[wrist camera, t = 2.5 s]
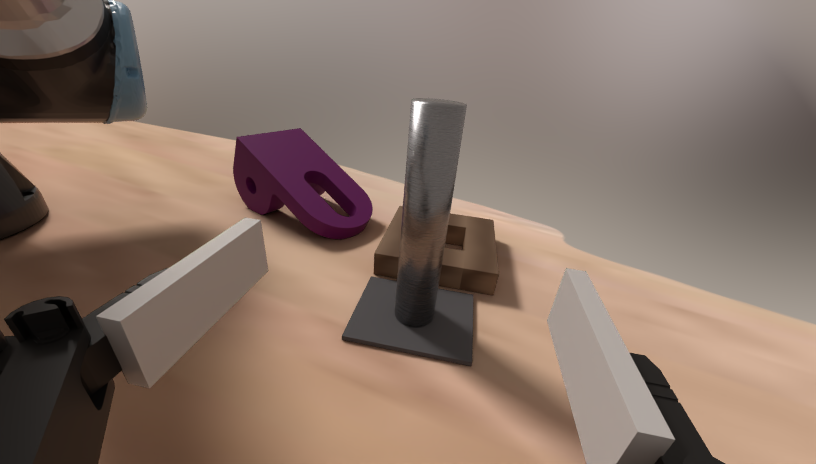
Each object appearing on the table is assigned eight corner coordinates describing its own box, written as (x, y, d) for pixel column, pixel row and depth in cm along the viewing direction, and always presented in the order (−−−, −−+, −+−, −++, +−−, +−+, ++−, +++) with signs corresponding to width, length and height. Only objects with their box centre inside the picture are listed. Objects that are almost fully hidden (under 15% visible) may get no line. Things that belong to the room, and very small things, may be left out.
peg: (390, 323, 27) (406, 102, 19) (399, 297, 30) (416, 96, 22) (431, 331, 27) (465, 108, 18) (436, 304, 29) (467, 102, 21)
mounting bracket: (364, 252, 48) (289, 173, 52) (386, 213, 43) (300, 128, 47) (312, 281, 41) (230, 187, 45) (331, 239, 36) (236, 136, 40)
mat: (342, 339, 26) (341, 335, 25) (370, 279, 33) (371, 276, 32) (471, 366, 24) (472, 362, 24) (472, 298, 31) (473, 294, 31)
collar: (373, 274, 33) (374, 253, 32) (398, 223, 44) (399, 206, 43) (493, 295, 32) (498, 274, 31) (489, 237, 42) (493, 220, 41)
